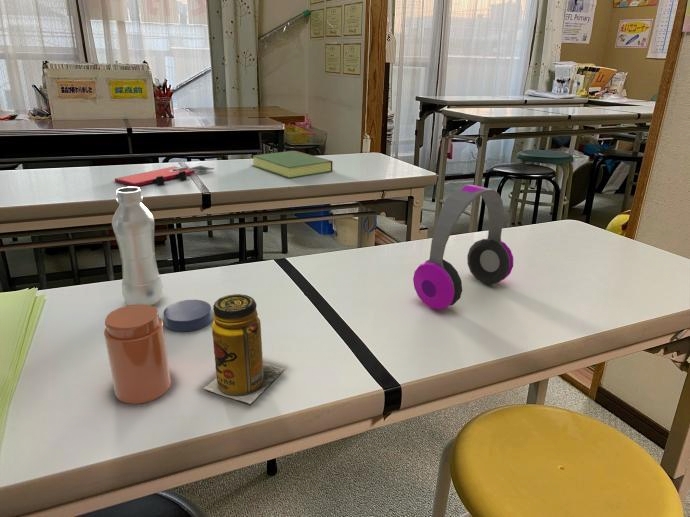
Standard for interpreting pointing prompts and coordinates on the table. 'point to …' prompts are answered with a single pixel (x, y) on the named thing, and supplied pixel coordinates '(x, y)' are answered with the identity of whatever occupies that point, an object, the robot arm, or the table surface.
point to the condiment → (239, 350)
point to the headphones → (483, 257)
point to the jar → (137, 353)
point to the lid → (187, 315)
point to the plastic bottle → (136, 248)
